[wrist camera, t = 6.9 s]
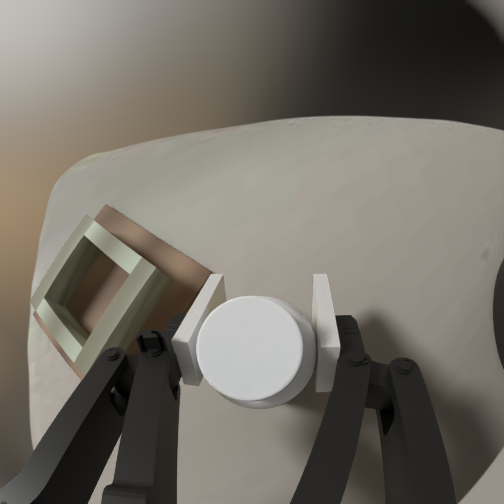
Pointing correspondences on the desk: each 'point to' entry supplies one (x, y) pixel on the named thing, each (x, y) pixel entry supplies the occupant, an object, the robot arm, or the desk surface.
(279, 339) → the supplement bottle
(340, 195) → the desk surface
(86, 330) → the socket board
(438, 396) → the desk surface
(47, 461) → the robot arm
